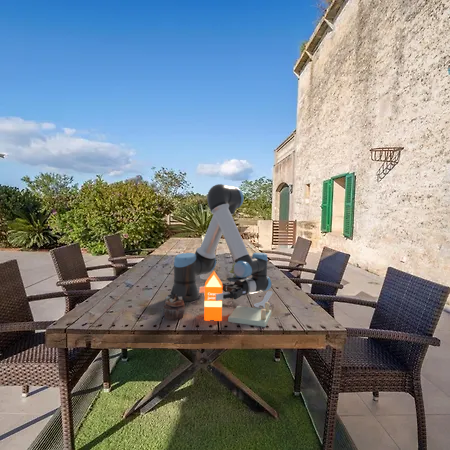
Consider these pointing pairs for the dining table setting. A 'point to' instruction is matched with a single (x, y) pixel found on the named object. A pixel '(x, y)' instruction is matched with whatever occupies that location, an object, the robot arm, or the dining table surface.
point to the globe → (234, 272)
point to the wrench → (264, 300)
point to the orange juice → (212, 299)
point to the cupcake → (174, 307)
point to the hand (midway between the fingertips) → (207, 293)
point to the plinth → (251, 315)
